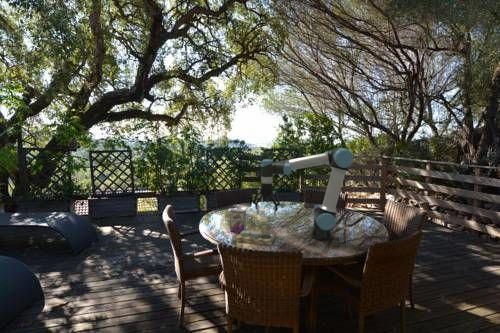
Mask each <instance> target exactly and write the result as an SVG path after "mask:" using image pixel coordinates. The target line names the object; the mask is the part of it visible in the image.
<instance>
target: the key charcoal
mask: <svg viewBox="0 0 500 333" xmlns="http://www.w3.org/2000/svg"><path fill="white" fill-rule="evenodd" d="M261 233H262V234H261V238H266V239H270V237H271V234H272V233H271V232H265V231H264V232H261Z"/></svg>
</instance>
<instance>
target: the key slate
mask: <svg viewBox="0 0 500 333" xmlns="http://www.w3.org/2000/svg"><path fill="white" fill-rule="evenodd" d="M251 232H252V233H251V237H256V238H259V237H260V236H261V233H262V232H261V231H254V230H252V231H251Z"/></svg>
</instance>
